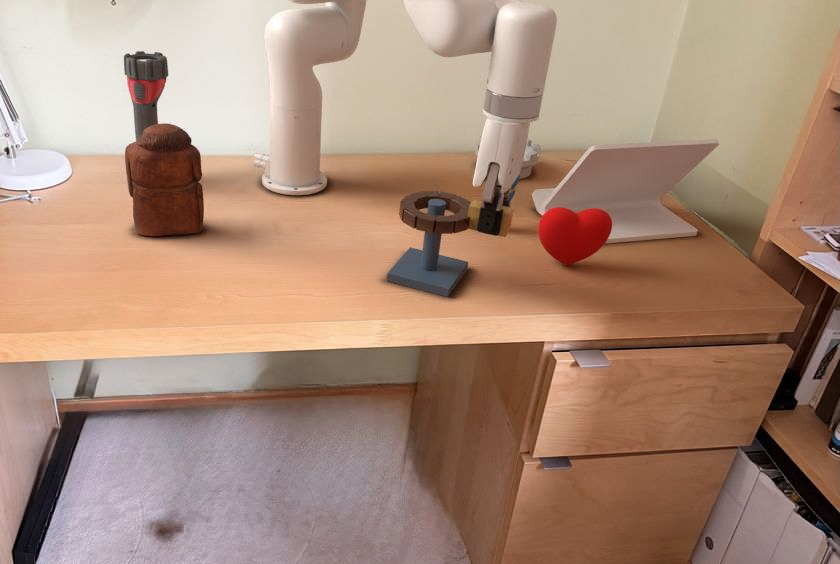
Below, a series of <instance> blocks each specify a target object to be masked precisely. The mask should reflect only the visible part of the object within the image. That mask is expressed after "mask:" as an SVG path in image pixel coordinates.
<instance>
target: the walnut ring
mask: <svg viewBox="0 0 840 564" xmlns="http://www.w3.org/2000/svg"><path fill="white" fill-rule="evenodd" d="M431 199H441V200H444V201H445V202H446V207H445V211H449V212H451V213H453V214H450V215H444V216H435V215H431V214H427V212H423V211H421V210H424V209H428V202H429V200H431ZM481 203H482V200H477V199H474V200H473V201H472V202H471V200H469V199H467V198H465V197H463V196H461V195H458V194H456V193H455V194H454V193H450V192H445V191H439V190H422V191H417V192H413V193H409V194H406V195H405V196H404V197H402V199H401V200H400V202H399V211H398V216H399V218H400V220H401V222H402V223H403V224H405V225H406V226H408V227H410V228H412V229H413V230H414V229H415V230H416V231H420V232H423V233H425V232H428V233H433V232H435V234H442V235H453V234H458V233H461V232H462V233H463V232H464V231H468V230H471V231H475V232H478V231H477V227H478V220H479V214H480V208H481ZM501 209H503V215H502V221H501V227H500V232H499V234H498V235H497V237H501V238H506V237H507V236H508V234H509V232H510V231H511V227H512V226H511V225H512V221H513V215H514V210H515V208H514V207H511V206H510V207H505V206H502V208H501Z"/></svg>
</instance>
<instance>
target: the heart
mask: <svg viewBox="0 0 840 564" xmlns="http://www.w3.org/2000/svg"><path fill="white" fill-rule="evenodd" d="M538 222H539V223H538V229H537V231H538V238H539V241H540V243H541V245H542V247H543V248H544V250H545V251H546V252H547V254H549V256H550V257H552V258H553V259H555V261H557V262H559V263H560V264H562V265H564V266H570V265H573V264H575V263H579V262H581V261H583V260H585V259H588V258H589V257H591V256H593V255H595V254H596V253H597V252H598V251H599V250H600V249H602V247H603V246H604V245H606V243H605V242H606V241H607V239H608V238H609V236H610V233H611V230H612V220H611V217H610V216H609V214H608V213H607V212H605V211H604V210H601V209H597V208H591V209H586V210H583V211H580V212H578V213H575V212H573V211H572V210H570V209H567V208H563V207H556V208H552V209H549V210H548V211H546V212H545V213H544V214H543V216H542V215H541V218H540V219H539V221H538Z"/></svg>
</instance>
